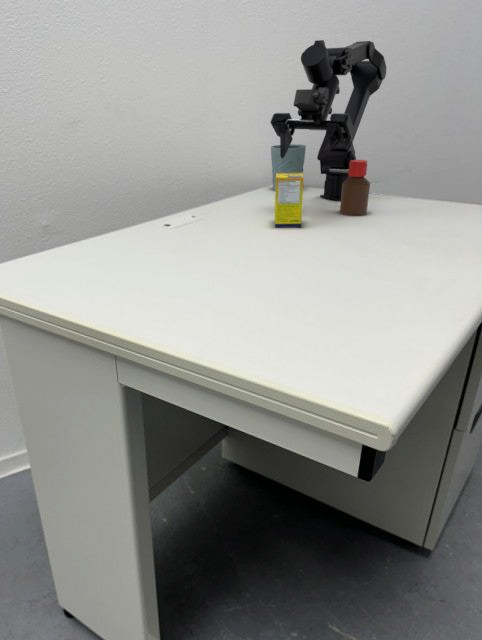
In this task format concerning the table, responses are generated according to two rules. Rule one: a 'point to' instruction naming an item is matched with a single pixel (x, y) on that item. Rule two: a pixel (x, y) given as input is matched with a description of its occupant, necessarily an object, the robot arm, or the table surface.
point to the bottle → (354, 196)
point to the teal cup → (287, 160)
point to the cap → (357, 168)
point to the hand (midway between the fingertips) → (299, 158)
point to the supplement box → (288, 199)
